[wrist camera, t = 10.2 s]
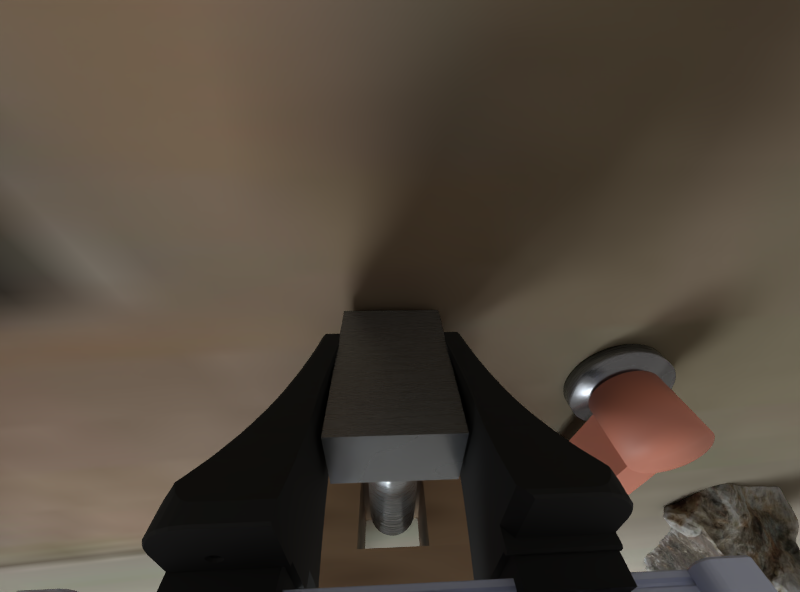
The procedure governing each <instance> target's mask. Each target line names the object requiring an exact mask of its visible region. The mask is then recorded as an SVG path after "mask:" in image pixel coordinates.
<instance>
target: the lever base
mask: <svg viewBox="0 0 800 592" xmlns="http://www.w3.org/2000/svg"><path fill="white" fill-rule="evenodd" d="M631 371H649V372H652V373H654V374H656V375H657V376H658V377H660V379H661V380H662V381H663V382H664V383H665V384H666V385H667V386H668V387H669V388H670V389H671V388H672V387H673V384H674V382H675V378H676V373H675V369H674V367H673V366H672V365H671V363H670V362H668V361H667V360H666V359H665V358H664V357H663V356H662V355H661V354H660V353H659V352H658V351H656V350H655V349H653V348H651V347H648V346H645V345H638V344H629V345H621V346H616V347H612V348H609V349H606V350H603V351H601V352H599V353H597V354H595V355H593V356H591V357H589V358H588V359H586V360H585V361H583V362H582V363H581V364H579V365H578V366H577V367H576V368H575V369H574V370H573V371H572V372H571V374H570V375H569V377H568V378H567V380H566V382H565V385H564V397H565V399H566V401H567V402H568V404H569V406H570V407H571V409H572V411H573V412H574V414H575V415H576V416H577V417H579V418H580V419H582V420H585V421H587V420H588V419H589V418H590V417H591V416H592V415H593V413H592V412H591V410H590V409H589V405H588V402H589V399H590V396H591V394H592V393H593V392H594V390H595V389H596V388H597V387H599V386H600V385H601V384H602V383H604V382H605V381H607V380H609V379H610V378H612V377H615V376H617V375H620V374H623V373H626V372H631Z"/></svg>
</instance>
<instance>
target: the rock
mask: <svg viewBox="0 0 800 592" xmlns="http://www.w3.org/2000/svg"><path fill="white" fill-rule="evenodd" d="M663 517H664V518H665V520H666V521H667V523H668V524H669V525H670V527H671V529H670V531H669V533H668V534H667V535H666V536H665V537H664V539H662V540H661V541H660V542H659V545H658V546H657V547H656V548H655V549H654V550H653V551H652V552H650V553H649V554H647V556H646V557H645V559H644V562H645V564H646V565H647V566H646V571H666V570H686V569H688V568H689V566H690V565H691V564H693V563H694V562H696V561H698V560H700V559H703V558H707V557H717V556H737V555H747V556H749V557H751V558H752V559H753V561H754V562H755V563H756V564H757V566H758V567H759V568H760V569H761V571H762V572H763V573H764V574H765V576H766V577H767V578H768V579H769V581H770V582H771V583H772V585H773V586H774V587H775V588H776V590H777V591H778V592H800V550H799V547H798V545H797V543H796V537H797V534H798V528H799V525H798V519H797V517H796V515H795V513H794V511H793V510H792V508H791V506H790V504H789V503H788V502H787V500H786V498H785V496H784V494H783V493H782V491H781V489H780V488H779V487H765V486H755V487H748V486H743V487H741V486H736V485H734V484H722V485H717V486H713V487H710V488H708V489H706V490H703V491H700V492H698V493H695V494H694V495H692V496H690V497H688V498H686V499H684V500H682V501H680V502H678V503H676V504H673V505H667V506H666V507H665V508H664V516H663Z"/></svg>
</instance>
